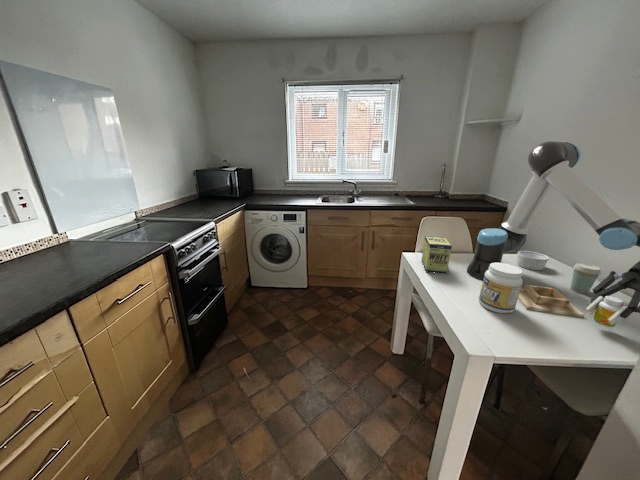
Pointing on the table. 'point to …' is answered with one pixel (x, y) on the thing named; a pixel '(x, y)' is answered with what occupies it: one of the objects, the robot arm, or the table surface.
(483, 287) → the supplement tub
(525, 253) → the ramekin
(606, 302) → the supplement bottle
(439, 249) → the protein box
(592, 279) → the coffee cup
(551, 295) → the birch rack
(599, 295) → the robot arm
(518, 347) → the table surface
